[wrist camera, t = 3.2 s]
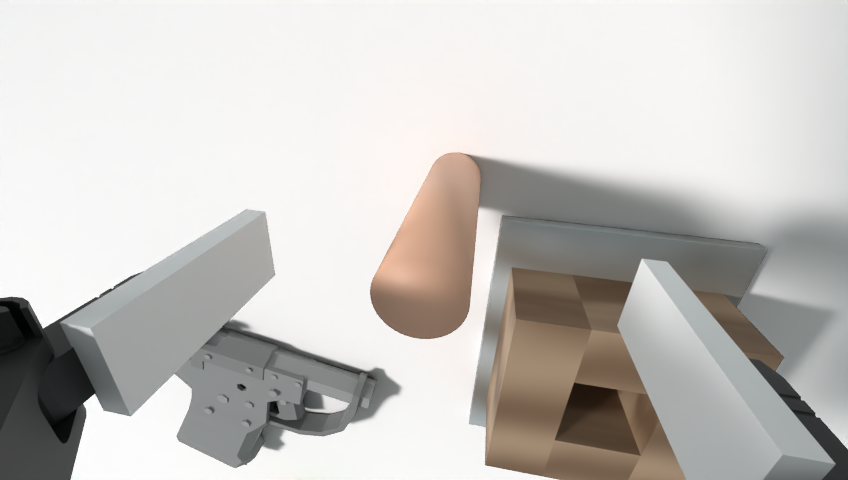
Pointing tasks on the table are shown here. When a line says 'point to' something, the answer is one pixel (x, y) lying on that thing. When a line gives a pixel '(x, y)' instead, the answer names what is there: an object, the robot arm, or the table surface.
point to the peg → (432, 254)
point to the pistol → (260, 395)
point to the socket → (589, 346)
